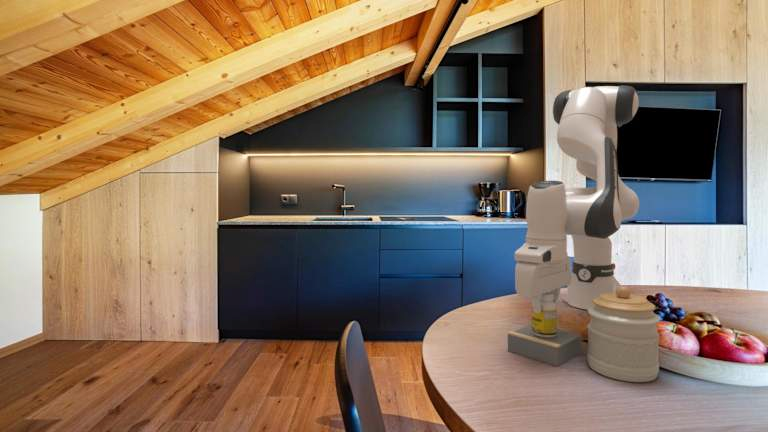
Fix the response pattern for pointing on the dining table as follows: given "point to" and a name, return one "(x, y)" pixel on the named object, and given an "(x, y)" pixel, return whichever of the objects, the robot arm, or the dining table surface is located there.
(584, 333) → the pastry
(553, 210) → the robot arm
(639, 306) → the jar
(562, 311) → the dining table surface
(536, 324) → the supplement bottle
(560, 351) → the block
